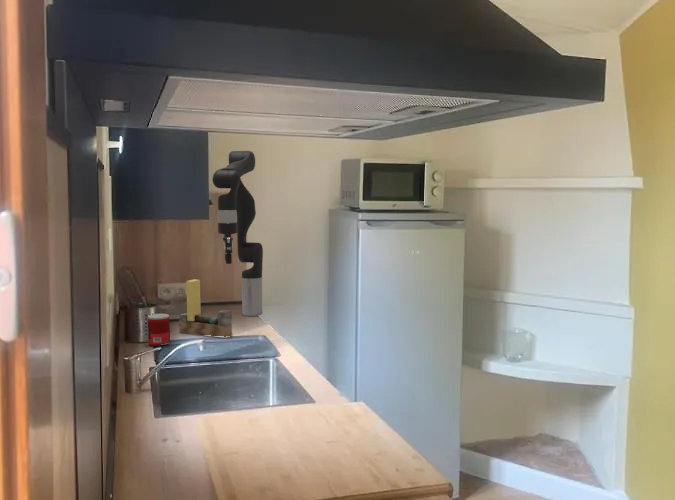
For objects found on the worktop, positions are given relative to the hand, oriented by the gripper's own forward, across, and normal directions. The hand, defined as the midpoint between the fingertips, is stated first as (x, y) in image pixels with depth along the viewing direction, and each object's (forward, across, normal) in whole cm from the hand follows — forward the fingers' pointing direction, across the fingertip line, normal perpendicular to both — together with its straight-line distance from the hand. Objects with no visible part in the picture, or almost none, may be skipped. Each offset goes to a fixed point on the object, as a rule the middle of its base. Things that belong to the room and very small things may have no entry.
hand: (228, 262), depth 262 cm
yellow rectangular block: (+24, -6, -14) cm, 29 cm away
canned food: (+30, +9, -27) cm, 41 cm away
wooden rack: (+30, -3, -10) cm, 31 cm away
